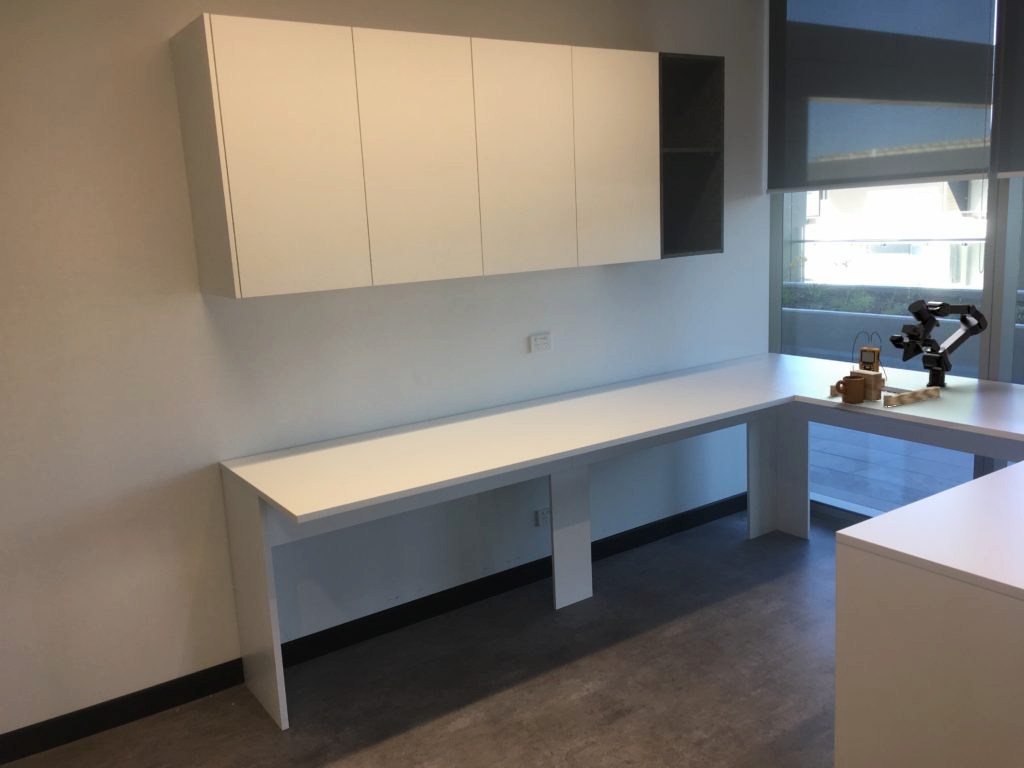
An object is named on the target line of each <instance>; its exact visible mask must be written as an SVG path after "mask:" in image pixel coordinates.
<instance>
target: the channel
mask: <svg viewBox="0 0 1024 768" xmlns="http://www.w3.org/2000/svg"><path fill="white" fill-rule="evenodd" d="M885 381H886V377H882V387H884V386H886V382H885ZM835 386H836V384H831V385H829V387H830V388H829V389H830V390H829V396H830V395H831V396H830V397H833V396H836V397H839V396H838V395H841V396H842V394H841V393H838V392H837V390H836V387H835ZM840 388H841V389H842V384H841V385H840ZM938 396H939V397H940V396H941V387H936V386H935V387H934V386H929V387H926V388H921V389H916V390H912V391H910V392H905V393H900V394H896V393H895V394H885V395H883V404H882V406H887V407H886V408H889V407H888V406H892V407H895V406H894V405H897V406H900V405H899V404H902V405H906V404H910V402H911V403H915V401H916V402H921V401H925V400H929V399H928V398H930V399H934V398H933V397H935V398H939V397H938ZM924 399H925V400H924ZM920 400H921V401H920ZM905 403H906V404H905Z"/></svg>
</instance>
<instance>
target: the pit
mask: <svg viewBox="0 0 1024 768" xmlns="http://www.w3.org/2000/svg"><path fill="white" fill-rule="evenodd" d="M885 391H887V392H886V393H891V392H893V393H892V394H896V393H898V394H900V393H905V392H910V391H913V390H911V389H904V388H899V387H892V386H887V385H885V386H884V387H882V389H881V392H885Z"/></svg>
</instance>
